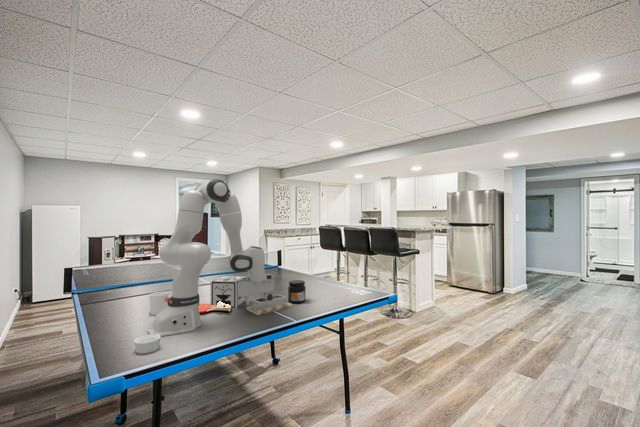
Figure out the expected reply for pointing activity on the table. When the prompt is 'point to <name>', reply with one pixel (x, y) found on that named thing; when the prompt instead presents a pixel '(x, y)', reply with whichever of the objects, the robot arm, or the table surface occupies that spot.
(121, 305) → the table surface
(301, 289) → the supplement container
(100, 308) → the table surface
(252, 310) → the plate
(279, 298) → the silver rectangular frame
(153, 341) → the ramekin
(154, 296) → the mug
